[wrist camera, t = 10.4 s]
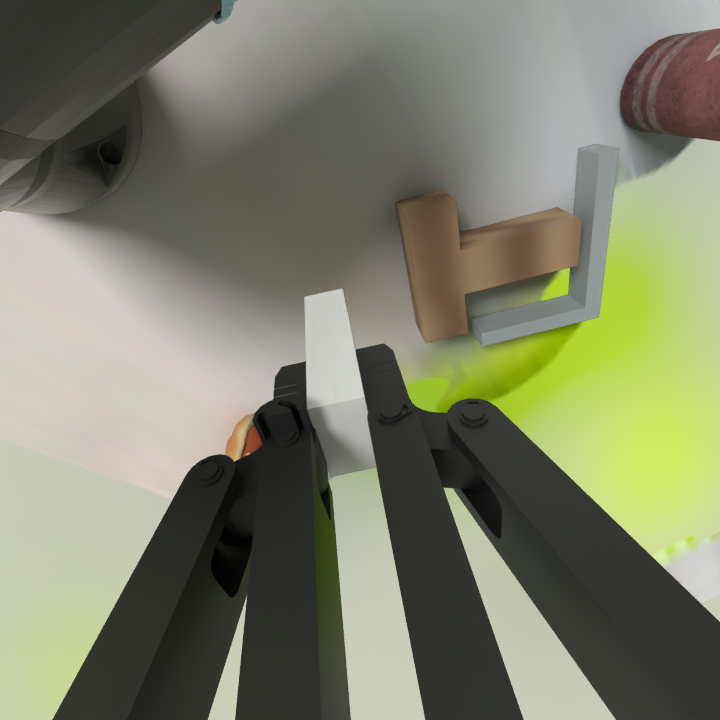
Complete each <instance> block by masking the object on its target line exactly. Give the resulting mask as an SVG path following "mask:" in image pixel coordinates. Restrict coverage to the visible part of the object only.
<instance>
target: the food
mask: <svg viewBox="0 0 720 720" xmlns="http://www.w3.org/2000/svg"><path fill="white" fill-rule="evenodd" d="M253 417H254V415H248V416H246V417H244V418H243V419H242V420H241V421H240V422H239V423H238V424H237V425H236V426H235V429H234V431H233V433H232V436H231V437H230V439H229V440H228V442H227V447H226V455H227V456H229V457H230V458H232V459H233V460H234V461H236V460H238V459H240V458H242V457H244V456H247V455H249V454H250V453H252V452H254V451H256V450H257V449H258V448H259V447H261V446H262V441H261V439H260V437H259V435H258V432H257V430H256V428H255V426H254V424H253V421H252V419H253Z"/></svg>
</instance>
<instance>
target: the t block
mask: <svg viewBox="0 0 720 720" xmlns="http://www.w3.org/2000/svg"><path fill="white" fill-rule="evenodd" d="M396 208H397V214H398V220H399V225H400V231H401V237H402V243H403V249H404V255H405V261H406V267H407V272H408V278H409V284H410V290H411V296H412V302H413V308H414V314H415V319H416V324H417V326H418V328H419V330H420V332H421V335H422V337H423V339H424V341H425V343H430V342H434V341H438V340H442V339H446V338H450V337H454V336H458V335H462V334H465V333H468V328H467V316H466V305H465V294H468V293H472V292H476V291H480V290H483V289H487V288H491V287H495V286H499V285H503V284H507V283H511V282H515V281H519V280H523V279H527V278H530V277H534V276H538V275H542V274H546V273H550V272H554V271H558V270H562V269H565V268H569V267H574V266H577V265H578V261H579V249H580V236H581V224H582V219H580V218H578V217H576V216H574V215H572V214H570V213H568V212H566V211H563V210H561V209H559V208H553V209H549V210H545V211H541V212H537V213H534V214H530V215H526V216H522V217H518V218H514V219H510V220H507V221H503V222H499V223H495V224H491V225H487V226H484V227H480V228H476V229H472V230H468V231H464V232H461V233H459V226H458V215H457V204H456V200H455V199H453V198H452V197H451V196H449V195H448V194H447V193H445V192H444V191H443V190H440V191H436V192H432V193H429V194H425V195H421V196H417V197H413V198H410V199H406V200H402V201H398V202H396Z"/></svg>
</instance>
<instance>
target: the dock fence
mask: <svg viewBox="0 0 720 720" xmlns="http://www.w3.org/2000/svg"><path fill="white" fill-rule="evenodd" d="M618 154H619V148H615V147H610V146H604V145H599V144H594V145H590V146H586V147H583V148H579V149H578V158H577V173H576V188H575V202H574V216H576V217H578V218H580V219H582V224H581V236H580V249H579V261H578V265H577V266H574V267H570V278H569V291H568V295H564V296H560V297H556V298H552V299H548V300H544V301H540V302H536V303H532V304H528V305H524V306H521V307H517V308H513V309H509V310H505V311H501V312H497V313H493V314H489V315H485V316H481V317H477V318H473V319H471V324H472V332H473V333H474V335H475V336H476V338H477V339H478V341H479V342H480V344H481V345H482V347H483V346H487V345H491V344H495V343H499V342H502V341H506V340H510V339H514V338H518V337H522V336H526V335H530V334H534V333H538V332H542V331H546V330H550V329H554V328H558V327H562V326H566V325H570V324H574V323H578V322H582V321H586V320H590V319H593V318H598V317H599V314H600V306H601V296H602V289H603V280H604V272H605V263H606V255H607V246H608V238H609V230H610V221H611V213H612V204H613V196H614V187H615V179H616V171H617V162H618Z"/></svg>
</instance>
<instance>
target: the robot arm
mask: <svg viewBox="0 0 720 720" xmlns="http://www.w3.org/2000/svg"><path fill="white" fill-rule="evenodd" d="M236 1H237V0H0V212H1V211H12V212H21V213H30V214H41V215H51V214H62V213H68V212H73V211H77V210H80V209H83V208H86V207H88V206H90V205H92V204H94V203H96V202H98V201H100V200H101V199H103V198H105V197H107V196H108V195H110V194H111V193H113V192H114V191H115V190H116V189H117V188H118V187H119V186H120V185H121V184H122V183H123V182H124V181H125V180H126V178H127V177H128V175H129V174H130V172H131V170H132V168H133V166H134V164H135V161H136V159H137V156H138V152H139V148H140V142H141V132H142V119H141V109H140V102H139V97H138V93H137V89H136V86H135V82H134V81H135V80H136V79H138V78H139V77H140V76H142V75H143V74H144V73H145V72H147V71H148V70H149V69H150V68H152V67H153V66H154V65H156V64H157V63H158V62H159V61H161V60H162V59H163V58H165V57H166V56H167V55H168V54H170V53H171V52H172V51H173V50H175V49H176V48H177V47H179V46H180V45H181V44H182V43H184V42H185V41H186V40H187V39H189V38H190V37H191V36H193V35H194V34H195V33H196V32H198V31H199V30H200V29H202V28H203V27H204V26H205V25H207V24H208V23H209V22H210V21H212V20H213V21H214V22H215V23H216V24H220V23H222V22H223V21H225V20H226V19H227V18H228V17H229V16H230V14H231V11H232V9H233V5H234V3H235V2H236ZM304 300H305V344H306V362H302V363H297V364H293V365H288V366H284V367H281V369H280V371H279V372H278V374H277V375H276V377H275V385H274V389H275V390H274V399H273V400H272V401H269V402H268V403H266V404H264V405H263V406H261V407H260V408H259V409H258V410H257V412H256V413H255V414H254V417H253V419H252V421H253V424H254V426H255V428H256V430H257V432H258V435H259V437H260V439H261V441H262V446H261V447H259V448H258V449H257V450H256V451H254V452H252V453H250V454H249V455H247V456H244V457H242V458H240V459H238V460H236V461H234V460H233V459H232V458H230V457H229V456H227V455H221V454H219V455H213V456H209V457H207V458H205V459H203V460H201V461H199V462H198V463H197V464H196V465H194V466H193V467H192V468H191V469H190V471H189V472H188V473H187V475H186V476H185V478H184V480H183V482H182V484H181V485H180V487H179V489H178V491H177V493H176V495H175V496H174V498H173V500H172V502H171V504H170V506H169V507H168V509H167V511H166V513H165V515H164V517H163V518H162V520H161V522H160V524H159V526H158V527H157V529H156V531H155V533H154V535H153V537H152V538H151V541H150V542H149V544H148V546H147V548H146V550H145V551H144V553H143V555H142V557H141V559H140V561H139V562H138V564H137V566H136V568H135V570H134V571H133V573H132V575H131V577H130V579H129V581H128V582H127V584H126V586H125V588H124V590H123V592H122V594H121V595H120V597H119V599H118V601H117V603H116V604H115V606H114V608H113V610H112V612H111V614H110V616H109V617H108V619H107V621H106V623H105V625H104V626H103V628H102V630H101V632H100V634H99V635H98V637H97V639H96V641H95V643H94V645H93V646H92V649H91V650H90V652H89V654H88V656H87V657H86V659H85V661H84V663H83V665H82V667H81V668H80V670H79V672H78V674H77V676H76V678H75V679H74V681H73V683H72V685H71V687H70V689H69V690H68V692H67V694H66V696H65V698H64V699H63V701H62V703H61V705H60V707H59V709H58V710H57V712H56V714H55V716H54V718H53V720H208V717H209V713H210V710H211V707H212V704H213V701H214V697H215V694H216V691H217V688H218V684H219V682H220V678H221V675H222V672H223V669H224V666H225V663H226V659H227V656H228V653H229V650H230V646H231V643H232V640H233V637H234V634H235V631H236V628H237V624H238V621H239V618H240V615H241V612H242V609H243V605H244V602H245V599H246V596H247V604H246V614H245V624H244V635H243V645H242V655H241V665H240V676H239V686H238V697H237V707H236V717H235V720H351V717H350V705H349V692H348V681H347V668H346V656H345V644H344V631H343V619H342V608H341V595H340V583H339V570H338V558H337V548H336V547H337V546H336V534H335V522H334V510H333V497H332V491H331V488H330V485H329V482H328V472H329V475H330V477H333V476H338V475H343V474H347V473H352V472H356V471H361V470H366V469H370V468H375V467H377V472H378V477H379V483H380V488H381V493H382V498H383V503H384V508H385V513H386V518H387V524H388V529H389V534H390V539H391V544H392V550H393V554H394V560H395V565H396V570H397V575H398V580H399V586H400V591H401V596H402V601H403V606H404V611H405V617H406V622H407V627H408V631H409V637H410V643H411V648H412V652H413V658H414V663H415V668H416V674H417V678H418V684H419V689H420V694H421V699H422V704H423V710H424V715H425V720H523V717H522V714H521V711H520V708H519V705H518V703H517V699H516V697H515V694H514V691H513V688H512V685H511V682H510V679H509V676H508V673H507V671H506V668H505V665H504V662H503V659H502V657H501V653H500V650H499V647H498V645H497V642H496V639H495V636H494V633H493V630H492V627H491V624H490V621H489V619H488V616H487V613H486V610H485V607H484V604H483V601H482V598H481V595H480V593H479V590H478V587H477V584H476V581H475V578H474V575H473V572H472V570H471V566H470V564H469V561H468V558H467V555H466V552H465V549H464V546H463V544H462V540H461V538H460V535H459V532H458V529H457V526H456V523H455V521H454V517H453V514H452V512H451V509H450V506H449V503H448V500H447V498H446V494H445V492H444V488H443V487H445V488H454V490H455V492H456V494H457V495H458V496H459V498H460V499H461V501H462V502H463V503H464V505H465V506H466V508H467V509H468V511H469V512H470V513H471V515H472V516H473V518H474V519H475V520H476V522H477V523H478V525H479V526H480V528H481V529H482V530H483V532H484V533H485V535H486V536H487V538H488V539H489V540H490V542H491V543H492V545H493V546H494V547H495V549H496V550H497V552H498V553H499V555H500V556H501V557H502V559H503V560H504V561H505V563H506V564H507V566H508V567H509V569H510V570H511V572H512V573H513V574H514V576H515V577H516V578H517V580H518V581H519V583H520V584H521V586H522V587H523V588H524V590H525V591H526V593H527V594H528V596H529V597H530V598H531V600H532V601H533V603H534V604H535V606H536V607H537V608H538V610H539V611H540V613H541V614H542V615H543V617H544V618H545V620H546V621H547V623H548V624H549V625H550V627H551V628H552V630H553V631H554V632H555V634H556V635H557V637H558V638H559V639H560V641H561V642H562V644H563V645H564V647H565V648H566V649H567V651H568V652H569V654H570V655H571V657H572V658H573V659H574V661H575V662H576V663H577V665H578V666H579V668H580V669H581V671H582V672H583V674H584V675H585V676H586V678H587V679H588V681H589V682H590V683H591V685H592V686H593V688H594V689H595V691H596V692H597V693H598V695H599V696H600V698H601V699H602V700H603V702H604V703H605V705H606V706H607V708H608V709H609V710H610V712H611V713H612V715H613V716H614V717H615V719H616V720H720V622H719V621H718V620H717V619H716V618H715V617H714V616H713V615H712V614H711V613H710V612H709V611H708V610H707V609H706V608H705V607H704V606H703V605H701V603H700V602H699V601H697V600H696V599H695V598H694V597H693V596H692V595H691V594H690V593H689V592H688V591H687V590H686V589H685V588H684V587H683V586H682V585H681V584H680V583H679V582H678V581H677V580H676V579H675V578H674V577H673V576H672V575H670V574H669V573H668V572H667V571H666V570H665V569H664V568H663V567H662V566H661V565H660V564H659V563H658V562H657V561H656V560H655V559H654V558H653V557H652V556H651V555H650V554H648V552H647V551H646V550H645V549H643V548H642V547H641V546H640V545H639V544H638V543H637V542H636V541H635V540H634V539H633V538H632V537H631V536H630V535H629V534H628V533H627V532H626V531H625V530H624V529H623V528H622V527H621V526H620V525H618V523H616V522H615V521H614V520H613V519H612V518H611V517H610V516H609V515H608V514H607V513H606V512H605V511H604V510H603V509H602V508H601V507H600V506H599V505H598V504H597V503H596V502H595V501H594V500H593V499H591V497H590V496H588V495H587V494H586V493H585V492H584V491H583V490H582V489H581V488H580V487H579V486H578V485H577V484H576V483H575V482H574V481H573V480H572V479H571V478H570V477H569V476H568V475H567V474H566V473H565V472H564V471H563V470H561V469H560V468H559V467H558V466H557V465H556V464H555V463H554V462H553V461H552V460H551V459H550V458H549V457H548V456H547V455H546V454H545V453H544V452H543V451H542V450H541V449H539V447H538V446H537V445H535V444H534V443H533V442H532V441H531V440H530V439H529V438H528V437H527V436H526V435H525V434H524V433H523V432H522V431H521V430H520V429H519V428H518V427H517V426H516V425H515V424H514V423H513V422H512V421H511V420H510V419H509V418H507V417H506V416H505V415H504V414H503V413H502V412H501V411H500V410H499V409H498V408H497V407H496V406H494V405H493V404H492V403H490V402H488V401H485V400H481V399H465V400H461V401H458V402H457V403H455V404H454V405H452V406H451V408H450V409H449V410H448V412H447V413H438V412H428V411H425V410H422V409H420V408H418V407H416V406H415V405H414V404H412V402H411V400H410V398H409V396H408V393H407V390H406V387H405V384H404V381H403V378H402V375H401V372H400V370H399V366H398V364H397V361H396V358H395V355H394V352H393V350H392V349H390V348H389V347H388V346H387V345H385V344H380V345H375V346H370V347H366V348H361V349H357V350H356V347H355V343H354V338H353V334H352V329H351V325H350V320H349V316H348V311H347V307H346V302H345V298H344V293H343V289H337V290H333V291H328V292H323V293H319V294H314V295H310V296H305V297H304ZM327 469H328V471H327Z"/></svg>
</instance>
